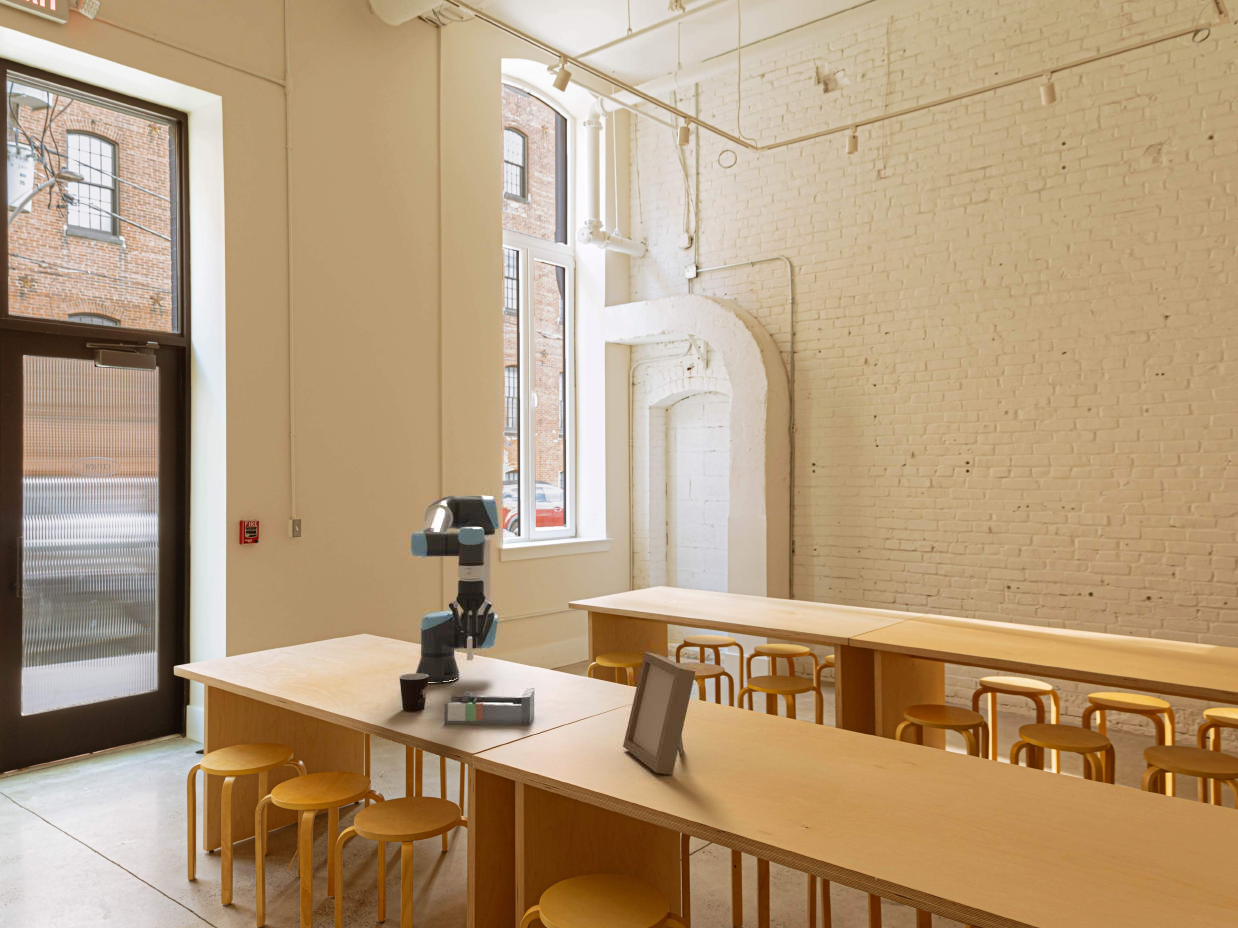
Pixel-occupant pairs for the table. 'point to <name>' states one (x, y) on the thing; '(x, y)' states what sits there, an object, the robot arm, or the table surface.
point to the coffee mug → (413, 691)
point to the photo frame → (659, 712)
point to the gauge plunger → (468, 698)
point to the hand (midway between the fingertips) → (470, 659)
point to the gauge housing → (491, 710)
